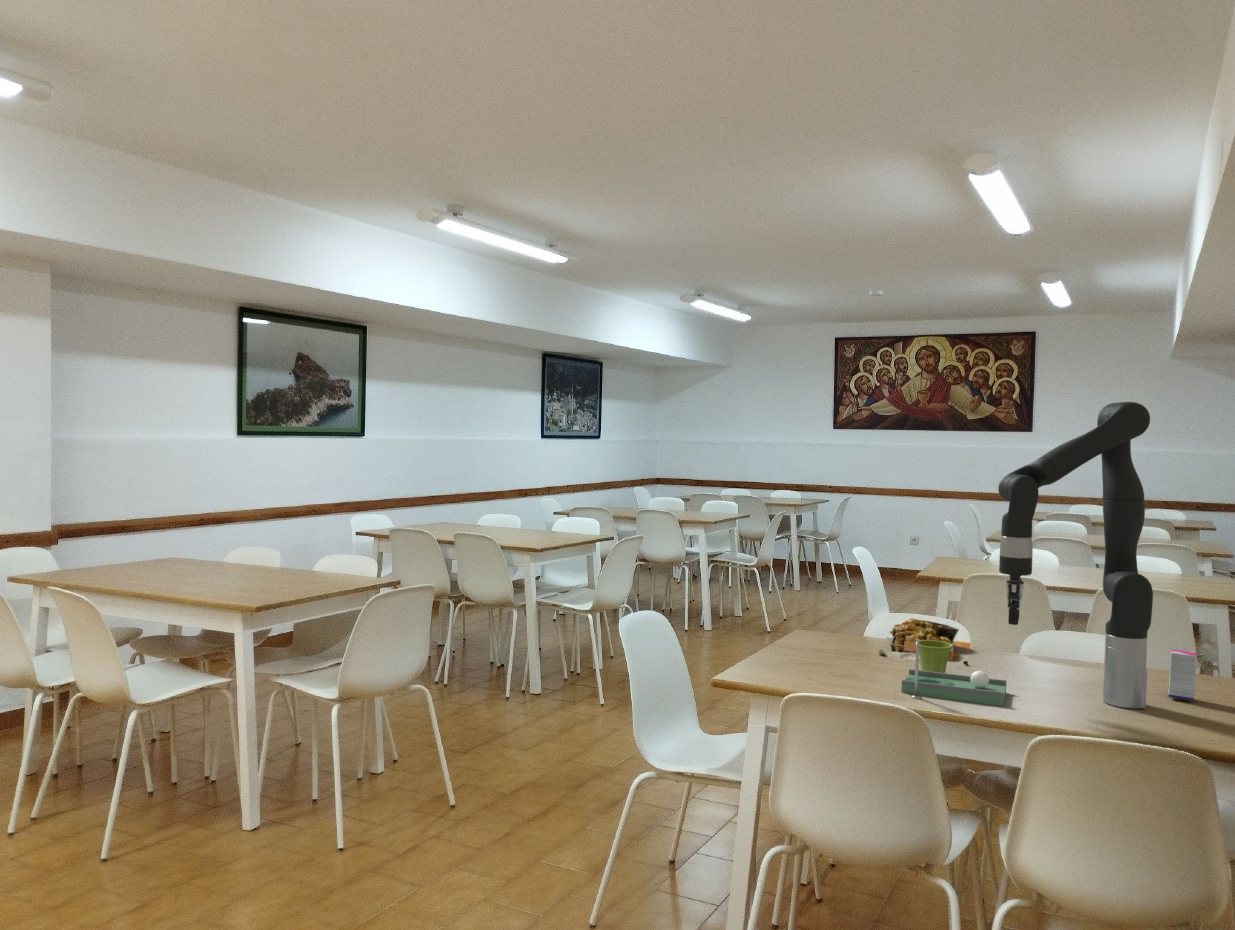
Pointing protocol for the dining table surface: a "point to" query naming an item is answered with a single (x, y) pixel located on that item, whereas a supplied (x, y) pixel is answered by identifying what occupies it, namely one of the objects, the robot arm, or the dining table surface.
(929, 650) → the plant pot
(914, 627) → the food tray
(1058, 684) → the dining table surface
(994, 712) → the dining table surface
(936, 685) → the lane
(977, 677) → the ball
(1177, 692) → the supplement box
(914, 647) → the pin
